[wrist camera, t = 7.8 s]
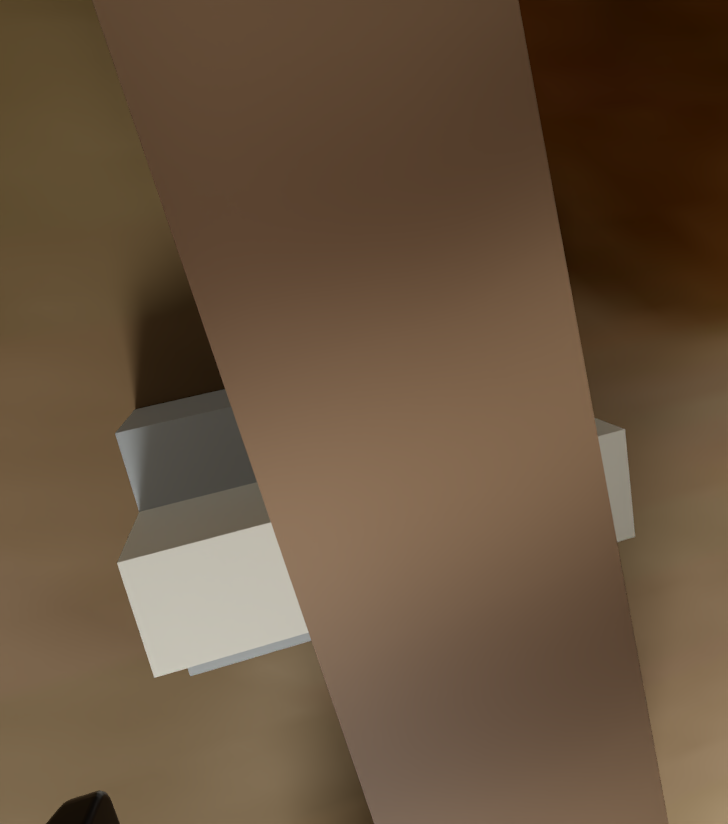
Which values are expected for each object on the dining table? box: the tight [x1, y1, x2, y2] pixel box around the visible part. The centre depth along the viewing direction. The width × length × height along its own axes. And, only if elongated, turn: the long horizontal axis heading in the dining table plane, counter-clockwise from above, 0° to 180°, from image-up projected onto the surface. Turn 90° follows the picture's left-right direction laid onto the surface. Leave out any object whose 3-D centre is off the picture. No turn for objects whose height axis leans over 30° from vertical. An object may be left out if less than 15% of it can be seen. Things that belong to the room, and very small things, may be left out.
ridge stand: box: [115, 389, 635, 678], centre depth 14 cm, size 6×10×5 cm, turn 101°
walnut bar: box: [92, 0, 669, 824], centre depth 9 cm, size 18×4×5 cm, turn 16°
